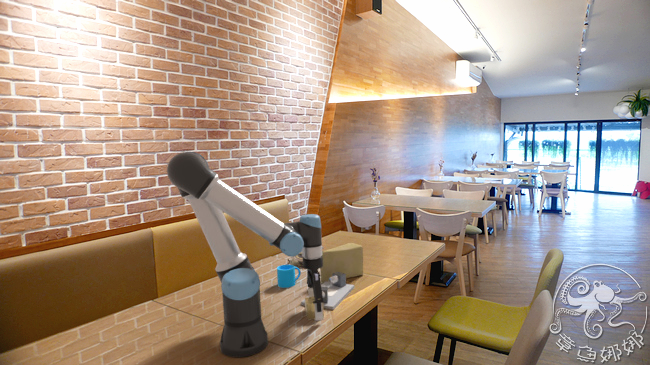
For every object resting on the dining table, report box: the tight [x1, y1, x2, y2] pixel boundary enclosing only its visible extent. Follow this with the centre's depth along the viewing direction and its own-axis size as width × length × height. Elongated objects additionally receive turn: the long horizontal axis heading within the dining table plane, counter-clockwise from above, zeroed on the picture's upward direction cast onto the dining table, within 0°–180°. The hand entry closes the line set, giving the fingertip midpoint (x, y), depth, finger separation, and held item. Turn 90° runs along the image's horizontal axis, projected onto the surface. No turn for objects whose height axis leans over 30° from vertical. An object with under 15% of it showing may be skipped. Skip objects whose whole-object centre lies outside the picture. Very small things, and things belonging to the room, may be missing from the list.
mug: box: [276, 264, 302, 289], centre depth 174 cm, size 12×8×8 cm
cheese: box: [320, 242, 364, 284], centre depth 179 cm, size 22×10×15 cm, turn 127°
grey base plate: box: [300, 281, 355, 311], centre depth 158 cm, size 24×14×1 cm, turn 156°
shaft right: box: [329, 272, 347, 288], centre depth 165 cm, size 7×5×5 cm
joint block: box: [304, 296, 325, 320], centre depth 140 cm, size 6×6×6 cm
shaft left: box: [321, 284, 328, 303], centre depth 151 cm, size 7×5×5 cm
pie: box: [288, 251, 303, 270], centre depth 206 cm, size 28×27×5 cm
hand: (315, 312), depth 140 cm, fingers open, 13 cm apart
